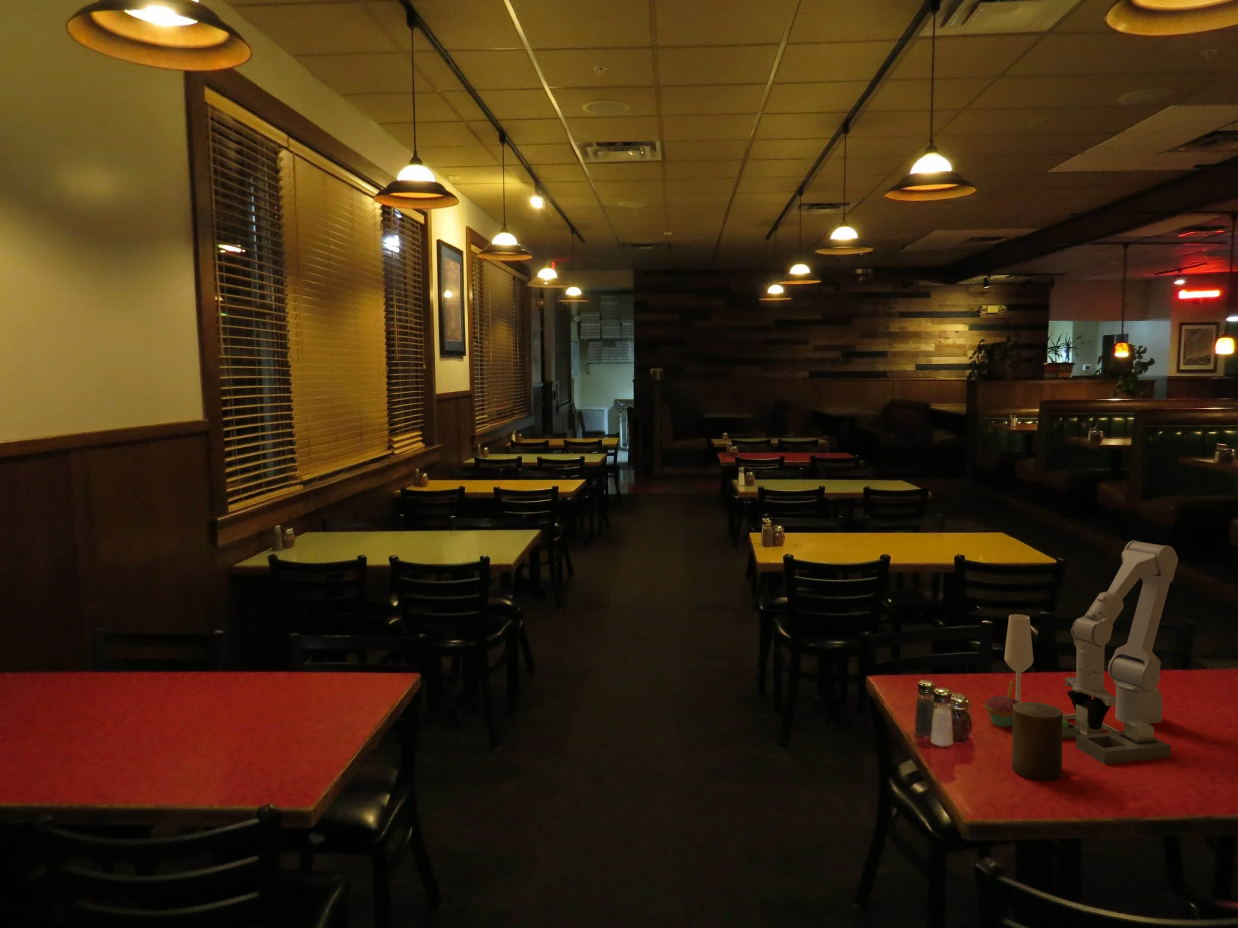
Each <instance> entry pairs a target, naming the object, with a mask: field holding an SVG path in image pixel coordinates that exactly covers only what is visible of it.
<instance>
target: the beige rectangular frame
mask: <svg viewBox="0 0 1238 928" xmlns="http://www.w3.org/2000/svg"><path fill="white" fill-rule="evenodd" d="M1063 719H1065V720H1067V721H1068V720H1076V713H1067V714H1063ZM1103 730H1105V731H1107V732H1118V731H1119V730H1118V729H1116V728H1114V727H1113V726H1110V725H1109V724H1106V723H1105V722H1103ZM1080 735H1087V734H1086V733H1084V732H1082V731H1081V730H1080Z"/></svg>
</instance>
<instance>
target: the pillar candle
mask: <svg viewBox="0 0 1238 928" xmlns="http://www.w3.org/2000/svg"><path fill="white" fill-rule="evenodd" d="M1063 715H1064V713H1063V711H1062V709H1060V708H1059V707H1056V706H1054V705H1051V704H1049V703H1042V702H1034V701H1023V702H1022V701H1021V703H1017V704H1013V726H1012V734H1011V735H1012V736H1011V738H1012V739H1011V742H1012V743H1011V768H1012V770H1013V771H1014V772H1015V773H1016V774H1018V775H1021V776H1022V777H1023V778H1027V779H1031V780H1035V781H1040V782H1041V781H1042V782H1043V781H1044V782H1045V781H1047V782H1049V781H1050V782H1051V781H1053V782H1054V781H1057V780H1059V779H1060V778H1061V777H1062V776H1063V772H1062V770H1063V739H1062V728H1063V727H1062V726H1063Z"/></svg>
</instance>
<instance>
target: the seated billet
mask: <svg viewBox="0 0 1238 928" xmlns="http://www.w3.org/2000/svg"><path fill="white" fill-rule="evenodd" d="M1123 731H1124V738H1125V739H1127V740H1129V741H1131V742H1133V743H1134V744H1136V745H1140V744H1150V743H1153V742H1154V737H1155V736H1154V735H1155V726H1152V725H1151V724H1147V723H1145V722H1143V721H1141V720H1137V721H1127V722H1124V723H1123Z"/></svg>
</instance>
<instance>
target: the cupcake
mask: <svg viewBox="0 0 1238 928" xmlns="http://www.w3.org/2000/svg"><path fill="white" fill-rule="evenodd" d="M1013 687H1014V678H1012V679H1011V680H1010V682H1009V688H1008V693H1007V695H998V696H995V695H994V696H992V697H989V698H988V699H986V701H984V705H983V706H984V710H985V711H987V712H988V714H989V716H990V718H991V721H992V724H993V725H996V726H998V727H1002V728H1006V727H1013V704H1017V703H1019V702H1018V701H1017V700H1016V698H1014V697H1013V698H1012V697H1011V696H1012V693H1013V692H1012V691H1013Z"/></svg>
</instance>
